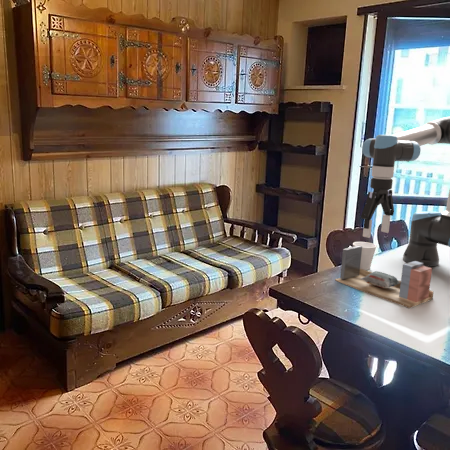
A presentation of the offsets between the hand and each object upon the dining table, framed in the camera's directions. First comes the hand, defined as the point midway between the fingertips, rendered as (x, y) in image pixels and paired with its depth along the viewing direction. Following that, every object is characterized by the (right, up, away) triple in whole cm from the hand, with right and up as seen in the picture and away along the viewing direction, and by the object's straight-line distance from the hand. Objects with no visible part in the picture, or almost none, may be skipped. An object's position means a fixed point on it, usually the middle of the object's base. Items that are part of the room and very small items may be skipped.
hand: (375, 234), depth 176 cm
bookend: (-7, -17, +11) cm, 21 cm away
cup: (+2, -16, +26) cm, 30 cm away
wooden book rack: (+3, -21, +1) cm, 21 cm away
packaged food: (-2, -21, +3) cm, 21 cm away
